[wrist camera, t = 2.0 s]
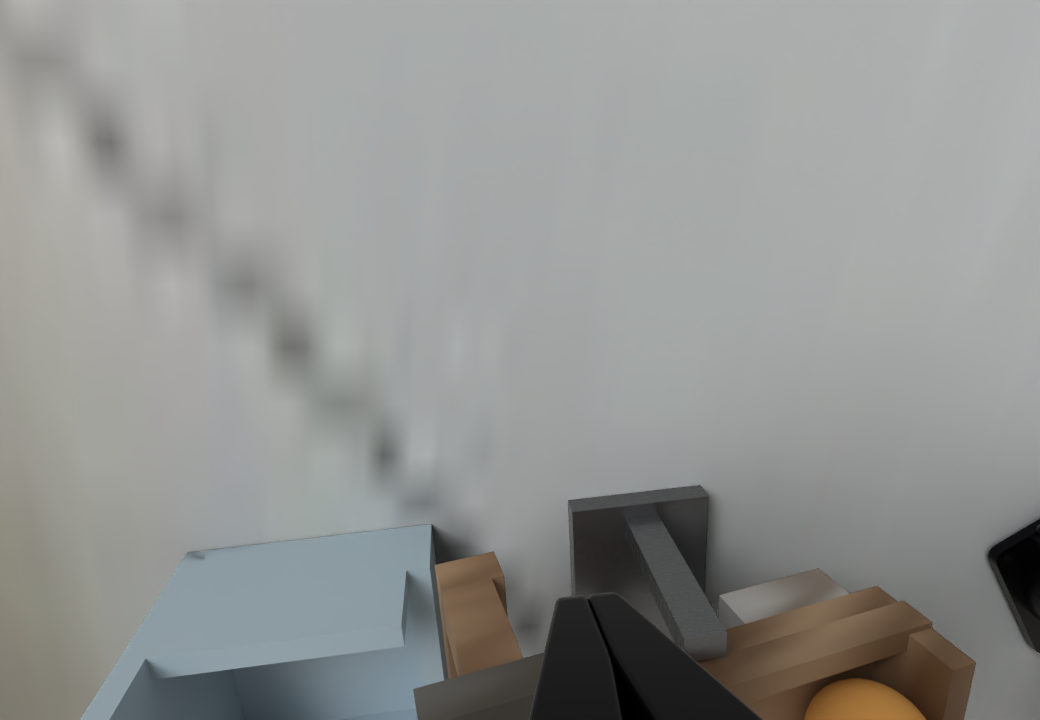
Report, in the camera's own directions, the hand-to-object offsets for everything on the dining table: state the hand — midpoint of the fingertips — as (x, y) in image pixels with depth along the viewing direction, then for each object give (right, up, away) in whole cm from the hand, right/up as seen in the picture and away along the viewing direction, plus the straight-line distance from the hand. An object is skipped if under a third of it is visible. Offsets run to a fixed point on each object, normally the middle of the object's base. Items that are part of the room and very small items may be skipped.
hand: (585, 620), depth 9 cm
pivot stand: (+4, -6, +16) cm, 17 cm away
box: (-8, -7, +15) cm, 18 cm away
